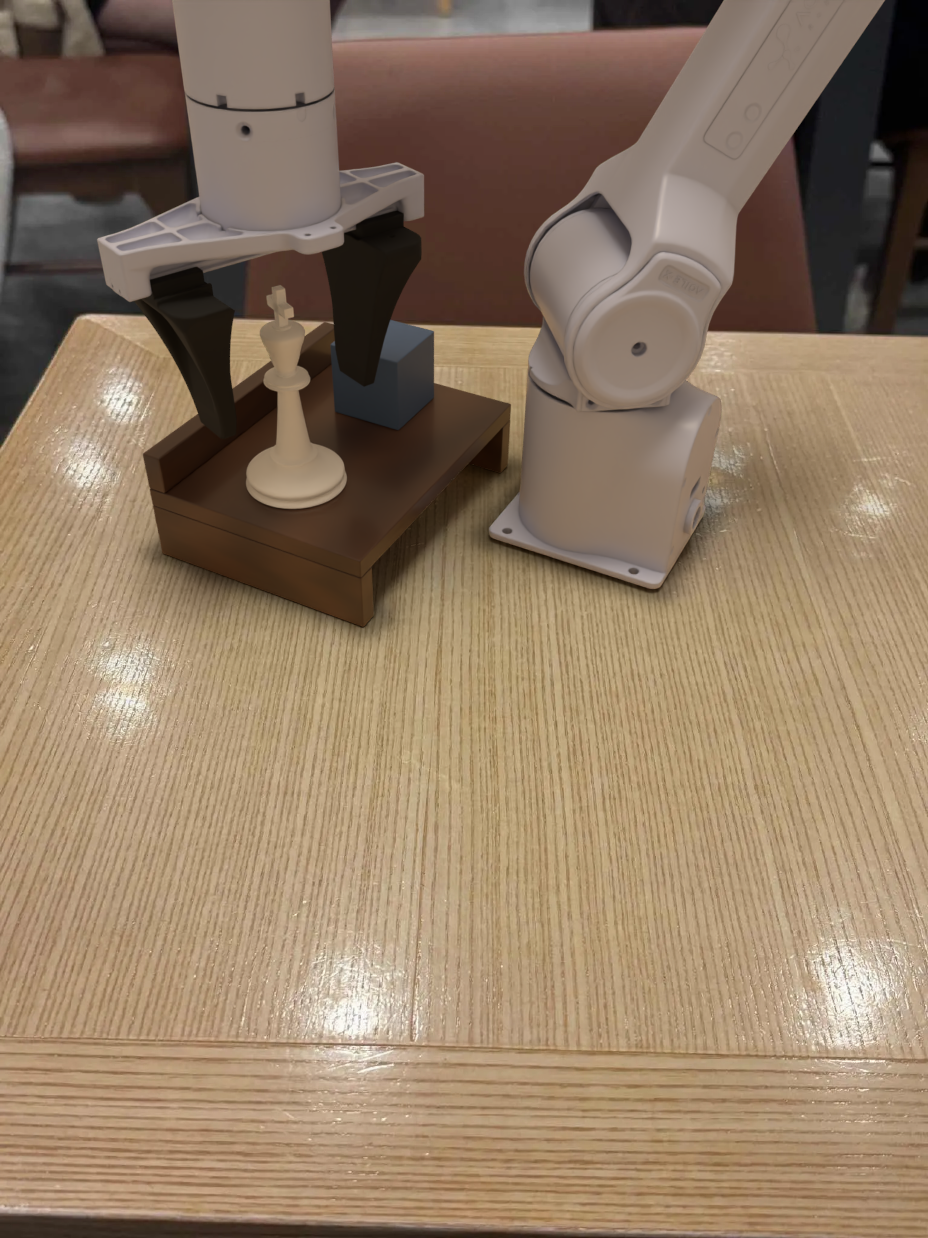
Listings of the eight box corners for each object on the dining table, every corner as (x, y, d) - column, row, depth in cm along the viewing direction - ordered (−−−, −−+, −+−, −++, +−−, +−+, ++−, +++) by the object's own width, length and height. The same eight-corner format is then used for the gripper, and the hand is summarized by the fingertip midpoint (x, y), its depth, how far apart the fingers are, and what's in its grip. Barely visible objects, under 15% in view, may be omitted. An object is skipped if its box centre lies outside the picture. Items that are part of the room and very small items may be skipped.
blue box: (434, 397, 60) (434, 330, 58) (398, 430, 58) (397, 362, 55) (372, 380, 62) (369, 313, 59) (334, 412, 59) (329, 343, 56)
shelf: (508, 465, 63) (513, 370, 59) (363, 627, 52) (358, 525, 48) (330, 412, 67) (324, 320, 63) (162, 553, 56) (141, 453, 52)
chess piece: (275, 521, 51) (252, 322, 45) (229, 472, 54) (201, 279, 48) (365, 489, 54) (356, 295, 47) (316, 443, 57) (301, 255, 50)
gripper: (136, 154, 36) (194, 494, 45) (471, 81, 43) (464, 387, 52) (46, 102, 40) (116, 424, 49) (366, 43, 47) (377, 333, 56)
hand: (290, 401), depth 51 cm, fingers open, 7 cm apart
